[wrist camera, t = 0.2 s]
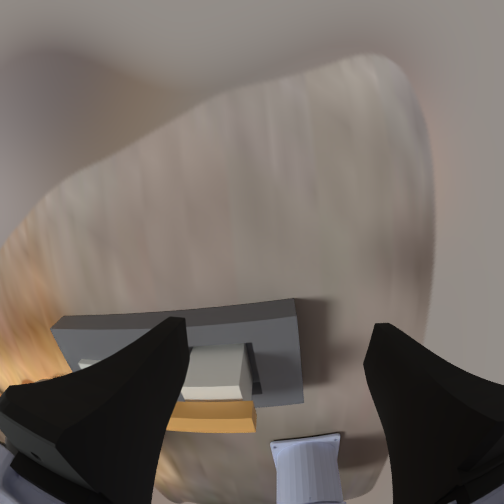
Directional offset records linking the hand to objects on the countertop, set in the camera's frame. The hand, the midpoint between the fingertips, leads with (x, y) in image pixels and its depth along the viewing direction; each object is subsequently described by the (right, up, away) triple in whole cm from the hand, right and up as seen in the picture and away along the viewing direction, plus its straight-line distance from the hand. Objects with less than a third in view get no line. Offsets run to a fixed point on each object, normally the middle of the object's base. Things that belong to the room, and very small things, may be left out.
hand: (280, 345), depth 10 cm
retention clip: (-5, -7, +6) cm, 11 cm away
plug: (-3, -5, +11) cm, 13 cm away
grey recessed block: (-8, -6, +13) cm, 16 cm away
